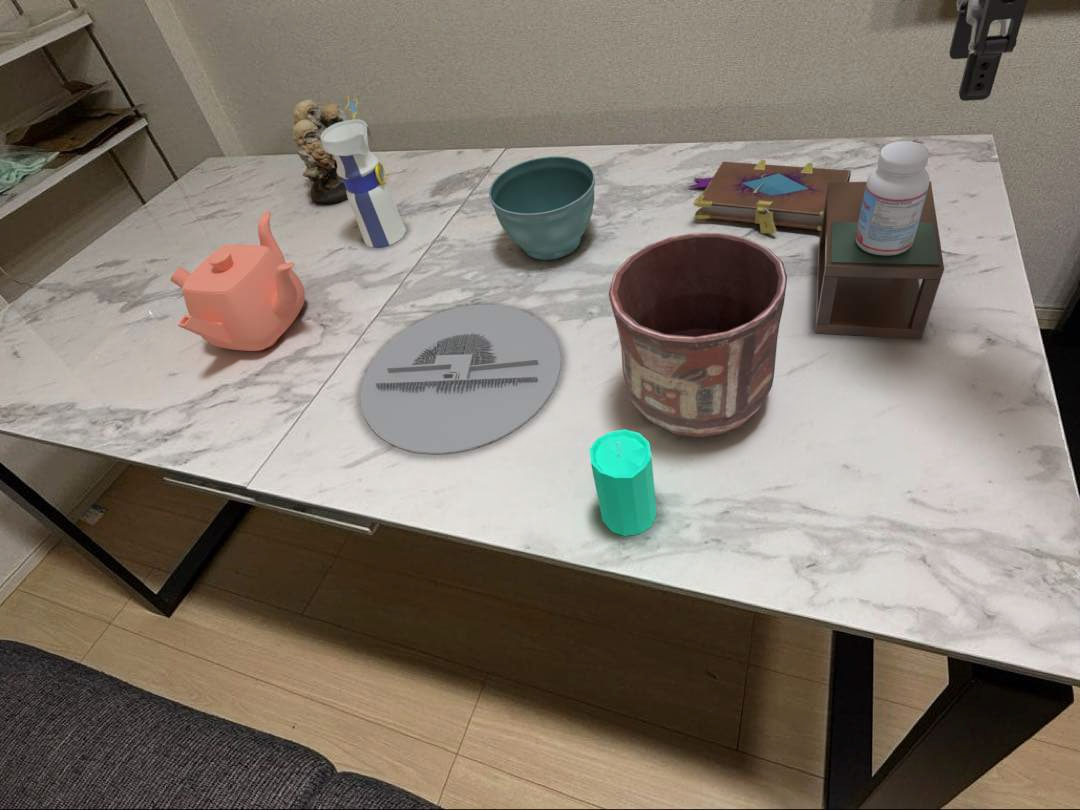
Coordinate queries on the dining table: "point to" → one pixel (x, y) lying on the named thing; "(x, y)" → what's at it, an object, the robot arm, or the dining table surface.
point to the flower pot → (545, 204)
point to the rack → (874, 273)
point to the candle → (624, 481)
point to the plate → (460, 379)
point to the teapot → (242, 294)
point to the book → (767, 194)
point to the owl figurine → (318, 150)
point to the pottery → (699, 330)
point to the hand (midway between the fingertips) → (967, 76)
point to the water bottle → (363, 180)
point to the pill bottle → (894, 199)
